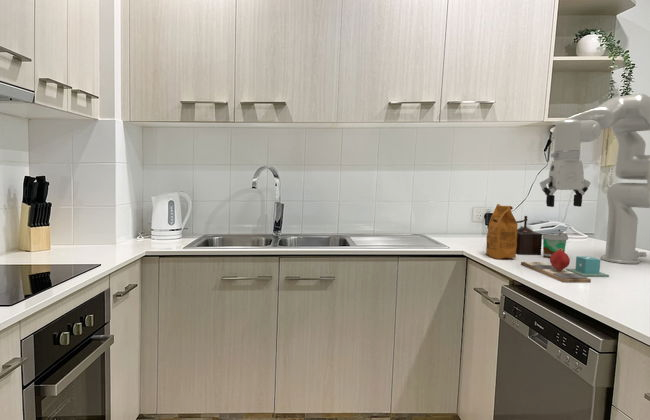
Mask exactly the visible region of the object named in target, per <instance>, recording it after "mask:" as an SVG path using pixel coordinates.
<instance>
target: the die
mask: <svg viewBox="0 0 650 420" xmlns="http://www.w3.org/2000/svg"><path fill="white" fill-rule="evenodd" d="M600 268H601V258H596V257H593V256H588V255H587V256H586V255H585V256H582V255H581V256H580V255H579V256H578V255H576V257H575V268H574V269H575V270H576V271H579V272H582V273H584V274H599V272H601V271H600Z"/></svg>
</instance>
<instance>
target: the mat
mask: <svg viewBox="0 0 650 420" xmlns="http://www.w3.org/2000/svg"><path fill="white" fill-rule="evenodd" d="M565 270H567V271H570V272H573V273H575V274H578V275H581V276H584V277H586V278H609V277H610V275H609V274H607V273H605V272H604V273H603V272H601V271H600V272H599V274H584V273H582V272H579V271H576V270H575V268H565Z"/></svg>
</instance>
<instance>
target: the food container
mask: <svg viewBox="0 0 650 420" xmlns="http://www.w3.org/2000/svg"><path fill="white" fill-rule="evenodd" d="M568 240H569V236H568V234H567V233H564V232H561V231H560V232H559V234H554V233H553V234H551V233H550V234H549V233H547V234H546V233H542V241H543V242H542V245H543V246H542V247H543V248H542V250H543V251H542V256H543V258H546V259H550V257H551V255H552V254H553V253H554V252H556V251H558V250H559V249H560V248H562V250H563V252H565V253H566V244H567V241H568Z"/></svg>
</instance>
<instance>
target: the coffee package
mask: <svg viewBox="0 0 650 420" xmlns="http://www.w3.org/2000/svg"><path fill="white" fill-rule="evenodd" d="M513 209H514V208H513V206H512V205H501V204H500V203H498V204H496V207H495V208H494V210H493V212H492V215H491V217H490V219H489V223H488V227H487V233H486V247H485V248H486V249H485V250H486V251H485V252H486V253H485V254H486V255H487V256H489V257H490V258H492V259H496V260H502V259H503V260H504V259H515V258H516V255H517V254H516V247H517V241H516V240H517V229H518V226H519V225H518V224H519V223H517V222H516V221H517V220H516V218H515V216H514V214H513V212H512V210H513Z"/></svg>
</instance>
